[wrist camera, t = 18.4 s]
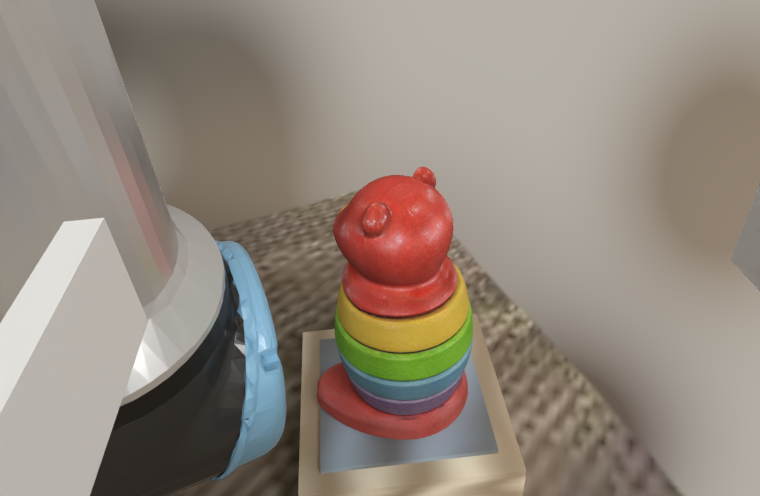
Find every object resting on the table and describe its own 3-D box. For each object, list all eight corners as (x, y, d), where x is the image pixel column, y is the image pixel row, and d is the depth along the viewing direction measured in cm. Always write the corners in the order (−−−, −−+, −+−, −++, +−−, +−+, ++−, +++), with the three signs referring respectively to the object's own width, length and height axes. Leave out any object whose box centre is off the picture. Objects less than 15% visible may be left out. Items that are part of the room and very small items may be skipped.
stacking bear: (399, 318, 49) (387, 126, 39) (500, 376, 44) (520, 170, 33) (305, 397, 43) (260, 195, 33) (408, 477, 38) (395, 264, 27)
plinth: (306, 528, 40) (297, 493, 37) (309, 363, 52) (302, 328, 49) (521, 503, 40) (526, 467, 38) (474, 345, 52) (476, 310, 50)
